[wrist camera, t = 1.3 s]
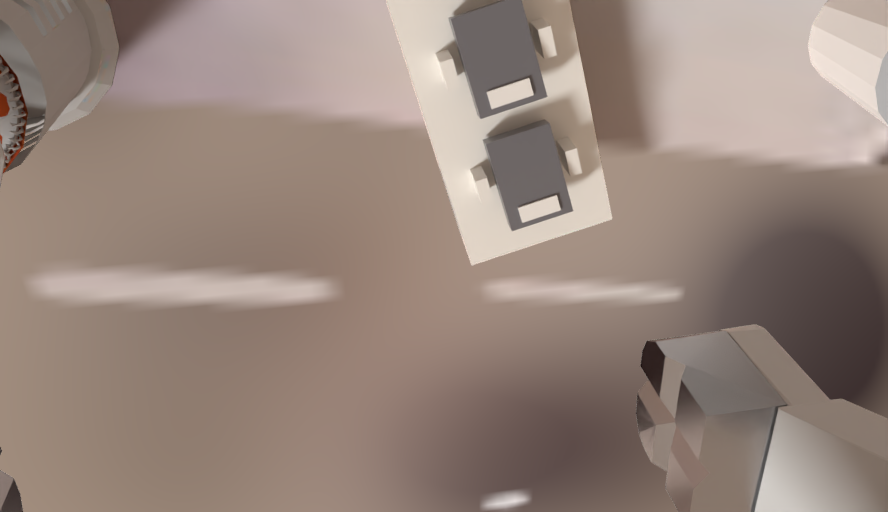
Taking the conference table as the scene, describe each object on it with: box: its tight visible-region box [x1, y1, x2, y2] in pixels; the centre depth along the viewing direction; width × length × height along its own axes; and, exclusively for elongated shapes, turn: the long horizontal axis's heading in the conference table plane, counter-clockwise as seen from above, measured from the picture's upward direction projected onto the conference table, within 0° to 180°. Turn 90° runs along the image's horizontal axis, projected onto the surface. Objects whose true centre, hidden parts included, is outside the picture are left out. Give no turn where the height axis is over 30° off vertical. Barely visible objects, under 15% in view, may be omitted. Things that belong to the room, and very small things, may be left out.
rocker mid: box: [448, 0, 547, 119], centre depth 35 cm, size 3×5×1 cm
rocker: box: [483, 119, 573, 231], centre depth 39 cm, size 3×5×1 cm
